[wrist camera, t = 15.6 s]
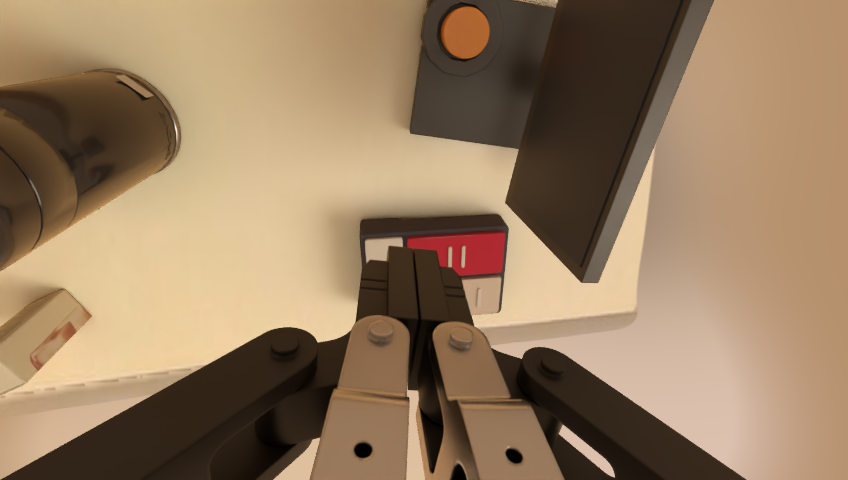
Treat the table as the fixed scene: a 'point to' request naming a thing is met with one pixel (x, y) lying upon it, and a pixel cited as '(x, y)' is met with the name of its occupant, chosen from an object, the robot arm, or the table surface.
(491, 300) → the calculator
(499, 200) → the table surface
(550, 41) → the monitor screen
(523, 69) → the monitor base
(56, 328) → the cream printed box
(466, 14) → the power button
